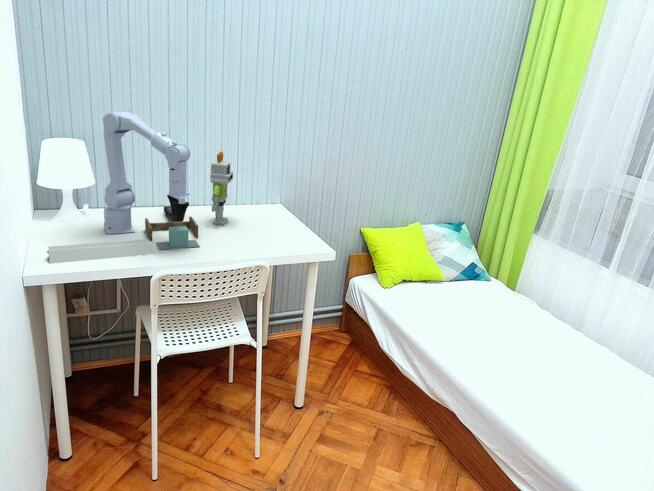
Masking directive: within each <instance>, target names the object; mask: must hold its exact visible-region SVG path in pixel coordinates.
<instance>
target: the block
mask: <svg viewBox="0 0 654 491" xmlns="http://www.w3.org/2000/svg"><path fill="white" fill-rule="evenodd" d="M188 240H189V229H187V227H186V226H179V227H169V230H168V241H169V244H170V246H171V247H179V246H188Z"/></svg>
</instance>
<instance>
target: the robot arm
mask: <svg viewBox="0 0 654 491" xmlns="http://www.w3.org/2000/svg"><path fill="white" fill-rule="evenodd" d="M102 123H103V139H104V140H103V141H104V147H105V153H106V160H107V162H106V163H107V168H108V176H109V183H108V185H106V187H105V189H104V192H105V193H104V197H103V198H104V202H105V205H106V207H105V208H103V215H104V223H103V227H104V229H105V234H106V235H110V234H111V235H112V234H113V235H114V234H127V233H134V232H135V231H134V227H133V225H132V207H133V204H134V203H135V201H136V195H135V192H134V190H133V185H132V184H131V183H129V182H128V181H127V177H126V176H127V175H126V168H125V161H124V160H125V159H124V152H123V145H122V138H123V137H124V135H125V134H127V133H128V132H131V131H133V132H135V133H137V134H139V135H141V136H142V137H144V138H145V139H147V140H149V141H150V145H151V146H152V147H153V148H154V149H156V150H157V151H158V152H160V153H161V154H163V155H164V158H165V159H166V161H167V166H168V179H169V180H168V194H167V195H166V197H167V199H168V201H169V206H171V210H172V214H173V215H176V220H177V221H182V222H184V220H185V216H186V212H187V209H188V207H189V206H190V202H189V201H186V197H187V196H190V195H191V193H190V191H187V166H188V164H187V161H188V160H190V156H191V151H190V149H189V148H188V146H186V144H183V143H180V144H179V143H178V142H177V141H176V140H173V139H172V138H171V137H169V136H167V133H165V132H161V131H160V132H159V131H158V132H156V131H155V130H154V129H152V128H151V127H150V126H148V125H147V124H146V123H145V122H144V121H143V120H141V118H140V116H139V115H138V114H135V113H134V112H133V111H131V110H130V111H128V110H126V111H108V112H107V113H106V114H105V115H104V116H103V117H102Z"/></svg>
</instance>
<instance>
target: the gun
mask: <svg viewBox="0 0 654 491" xmlns="http://www.w3.org/2000/svg"><path fill="white" fill-rule="evenodd" d="M163 213H164V214H166V216H167V217H169V218H170V219H171V221H172V222H183V221H177V220H176V215H173V214H172V210H171V205H169V206H168V205H167V206H166V205H165V206H163Z"/></svg>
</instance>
